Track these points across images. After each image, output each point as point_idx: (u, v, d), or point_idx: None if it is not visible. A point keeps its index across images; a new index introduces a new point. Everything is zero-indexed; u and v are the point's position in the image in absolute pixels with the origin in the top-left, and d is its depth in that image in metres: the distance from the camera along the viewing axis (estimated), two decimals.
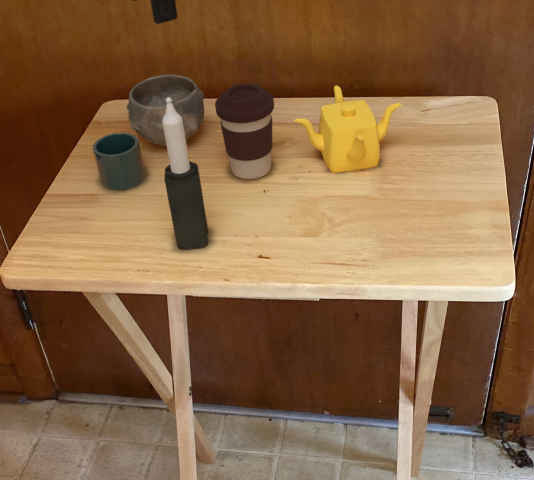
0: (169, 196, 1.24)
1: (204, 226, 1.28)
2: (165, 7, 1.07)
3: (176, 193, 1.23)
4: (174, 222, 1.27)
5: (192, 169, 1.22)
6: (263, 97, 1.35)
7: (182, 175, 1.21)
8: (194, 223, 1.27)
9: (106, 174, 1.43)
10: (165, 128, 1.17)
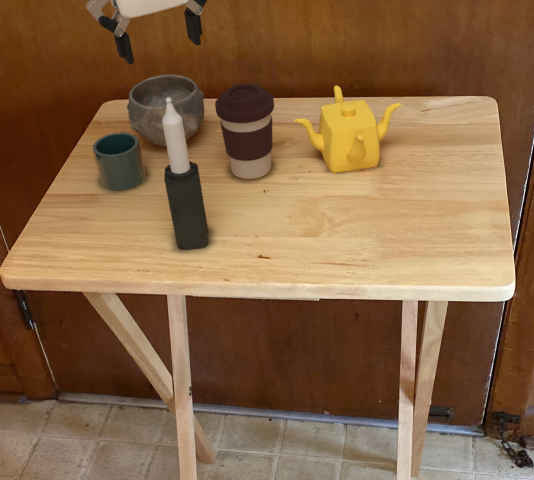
0: (169, 196, 1.24)
1: (204, 226, 1.28)
2: (118, 47, 1.08)
3: (176, 193, 1.23)
4: (174, 222, 1.27)
5: (192, 169, 1.22)
6: (263, 97, 1.35)
7: (182, 175, 1.21)
8: (194, 223, 1.27)
9: (106, 174, 1.43)
10: (165, 128, 1.17)
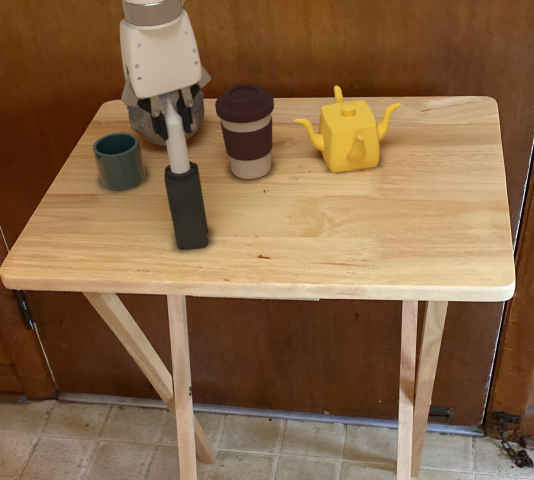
0: (169, 196, 1.24)
1: (204, 226, 1.28)
2: (153, 125, 1.17)
3: (176, 193, 1.23)
4: (174, 222, 1.27)
5: (192, 169, 1.22)
6: (263, 97, 1.35)
7: (182, 175, 1.21)
8: (194, 223, 1.27)
9: (106, 174, 1.43)
10: None
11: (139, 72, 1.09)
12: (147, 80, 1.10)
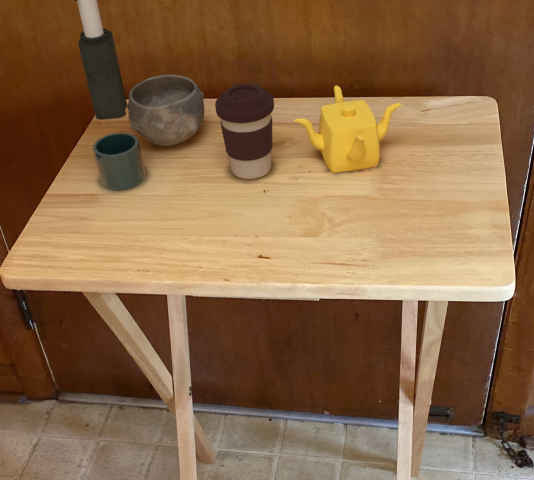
0: (83, 61, 1.28)
1: (120, 95, 1.33)
2: None
3: (90, 57, 1.27)
4: (90, 89, 1.31)
5: (105, 34, 1.27)
6: (263, 97, 1.35)
7: (95, 39, 1.26)
8: (109, 91, 1.31)
9: (106, 174, 1.43)
10: None
11: None
12: None
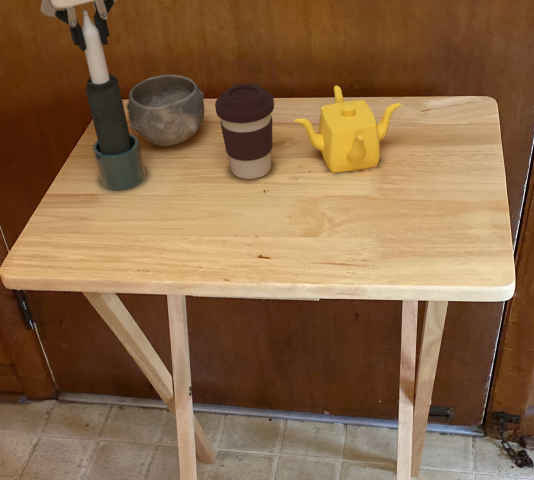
0: (90, 106, 1.35)
1: (125, 136, 1.40)
2: (72, 36, 1.28)
3: (96, 102, 1.34)
4: (97, 132, 1.38)
5: (111, 80, 1.34)
6: (263, 97, 1.35)
7: (101, 85, 1.33)
8: (115, 133, 1.38)
9: (106, 174, 1.43)
10: None
11: None
12: None
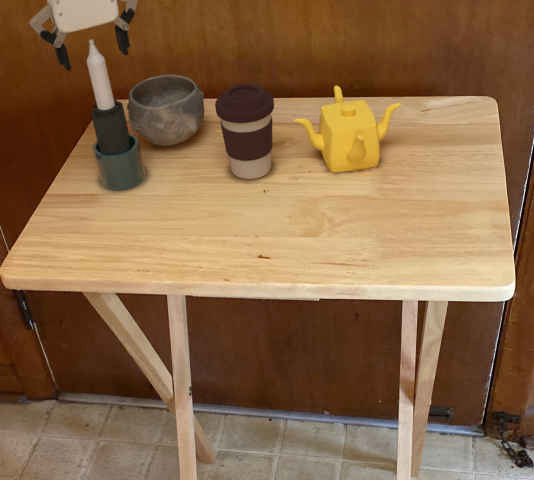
0: (96, 131, 1.38)
1: None
2: (57, 56, 1.29)
3: (102, 128, 1.37)
4: None
5: (116, 106, 1.37)
6: (263, 97, 1.35)
7: (107, 111, 1.36)
8: None
9: (106, 174, 1.43)
10: (89, 67, 1.32)
11: (60, 8, 1.23)
12: (68, 16, 1.24)
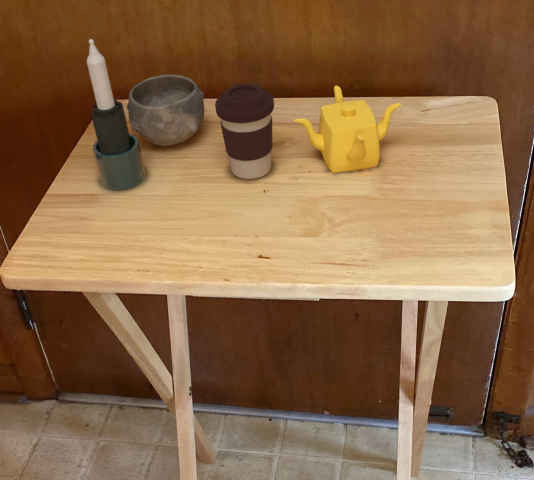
0: (96, 131, 1.38)
1: None
2: None
3: (102, 128, 1.37)
4: None
5: (116, 106, 1.37)
6: (263, 97, 1.35)
7: (107, 111, 1.36)
8: None
9: (106, 174, 1.43)
10: (89, 67, 1.32)
11: None
12: None
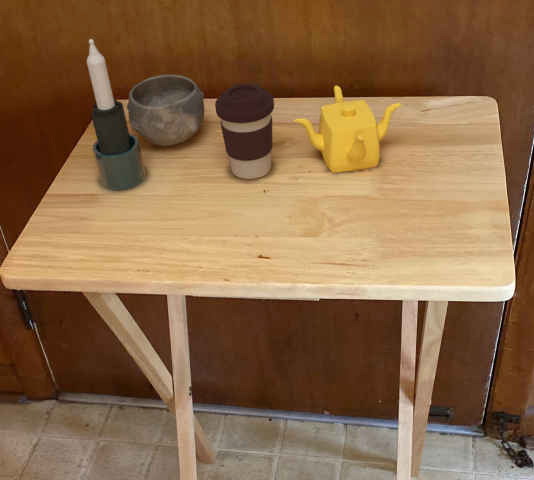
0: (96, 131, 1.38)
1: None
2: None
3: (102, 128, 1.37)
4: None
5: (116, 106, 1.37)
6: (263, 97, 1.35)
7: (107, 111, 1.36)
8: None
9: (106, 174, 1.43)
10: (89, 67, 1.32)
11: None
12: None
